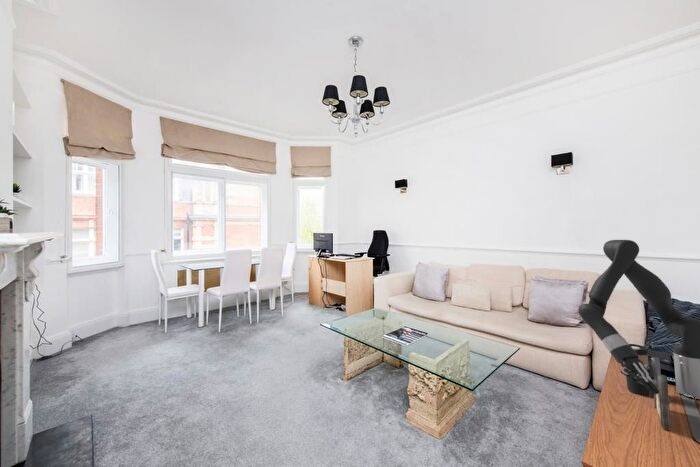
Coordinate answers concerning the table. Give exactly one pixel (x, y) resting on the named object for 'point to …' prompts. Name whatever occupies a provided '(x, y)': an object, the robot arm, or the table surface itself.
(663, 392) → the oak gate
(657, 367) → the gate post
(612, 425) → the table surface
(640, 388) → the travel mug
